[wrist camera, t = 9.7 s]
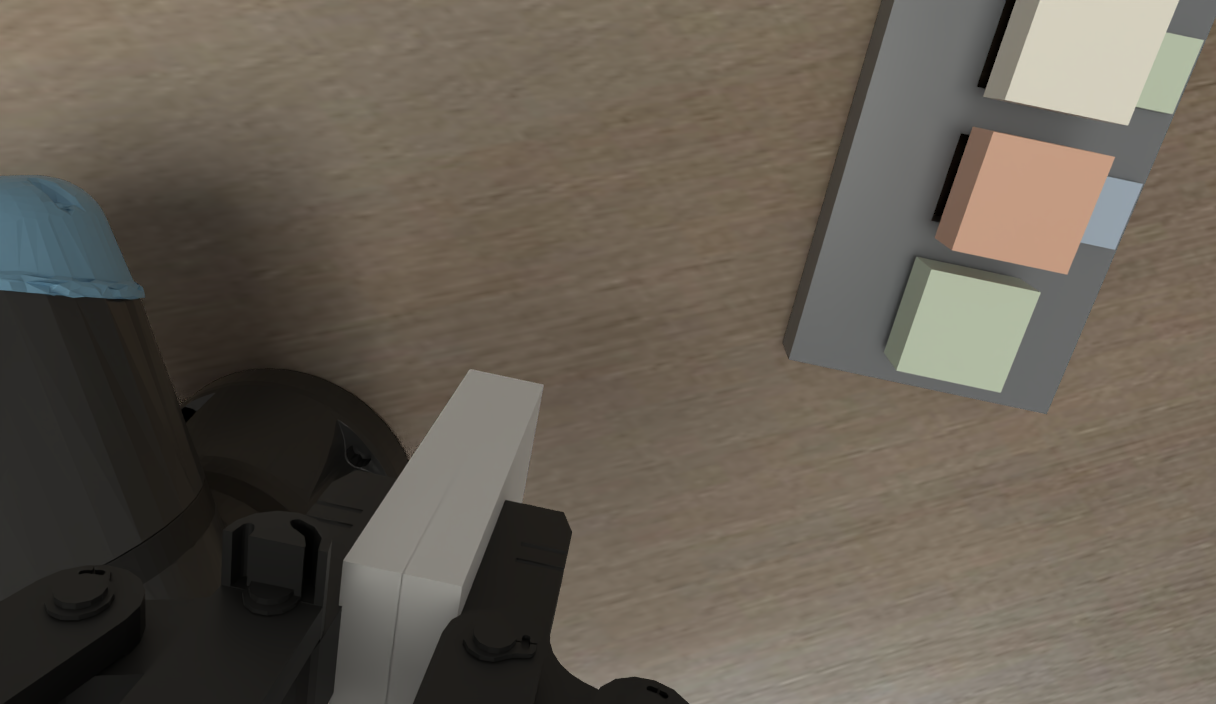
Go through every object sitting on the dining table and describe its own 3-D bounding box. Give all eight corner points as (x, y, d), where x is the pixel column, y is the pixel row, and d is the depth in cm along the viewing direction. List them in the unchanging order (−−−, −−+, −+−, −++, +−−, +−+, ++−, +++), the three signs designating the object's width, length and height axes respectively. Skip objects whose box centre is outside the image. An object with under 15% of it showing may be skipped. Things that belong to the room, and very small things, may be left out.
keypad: (1026, 394, 43) (1051, 419, 40) (782, 342, 43) (790, 363, 40) (1260, -174, 34) (1315, -196, 31) (950, -237, 34) (976, -265, 31)
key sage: (965, 355, 41) (1000, 392, 37) (872, 335, 42) (896, 370, 37) (998, 265, 40) (1040, 292, 35) (902, 244, 40) (931, 269, 35)
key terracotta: (1020, 248, 38) (1067, 274, 33) (918, 226, 38) (951, 250, 33) (1059, 144, 36) (1115, 156, 32) (953, 121, 36) (993, 131, 32)
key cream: (1070, 116, 36) (1127, 125, 31) (962, 94, 36) (1004, 100, 31) (1115, -1, 34) (1183, -9, 30) (1002, -24, 34) (1052, -37, 30)
